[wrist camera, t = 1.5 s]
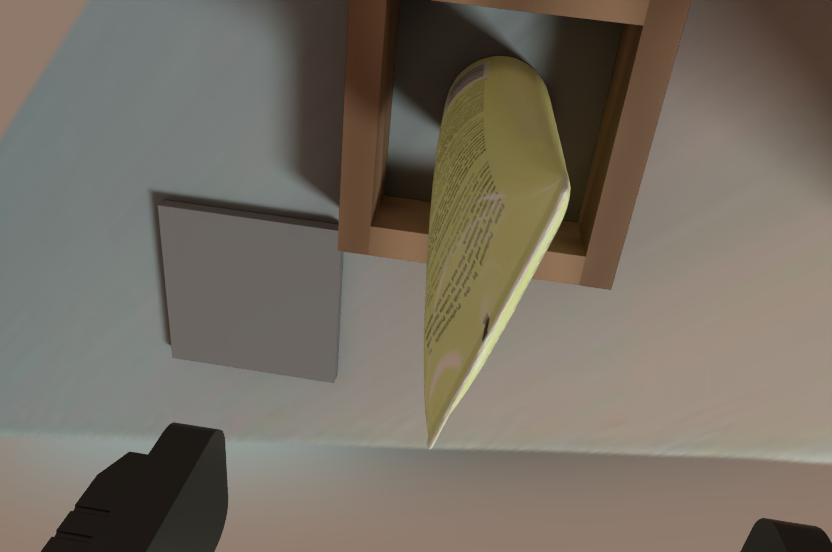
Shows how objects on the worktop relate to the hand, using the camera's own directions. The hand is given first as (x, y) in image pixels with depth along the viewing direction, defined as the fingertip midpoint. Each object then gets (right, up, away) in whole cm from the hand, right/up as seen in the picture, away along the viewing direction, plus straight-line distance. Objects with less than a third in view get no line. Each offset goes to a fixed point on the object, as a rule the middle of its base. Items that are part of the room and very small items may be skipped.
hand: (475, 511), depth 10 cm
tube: (+3, +12, +22) cm, 25 cm away
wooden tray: (+3, +11, +21) cm, 24 cm away
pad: (-10, +3, +28) cm, 30 cm away
